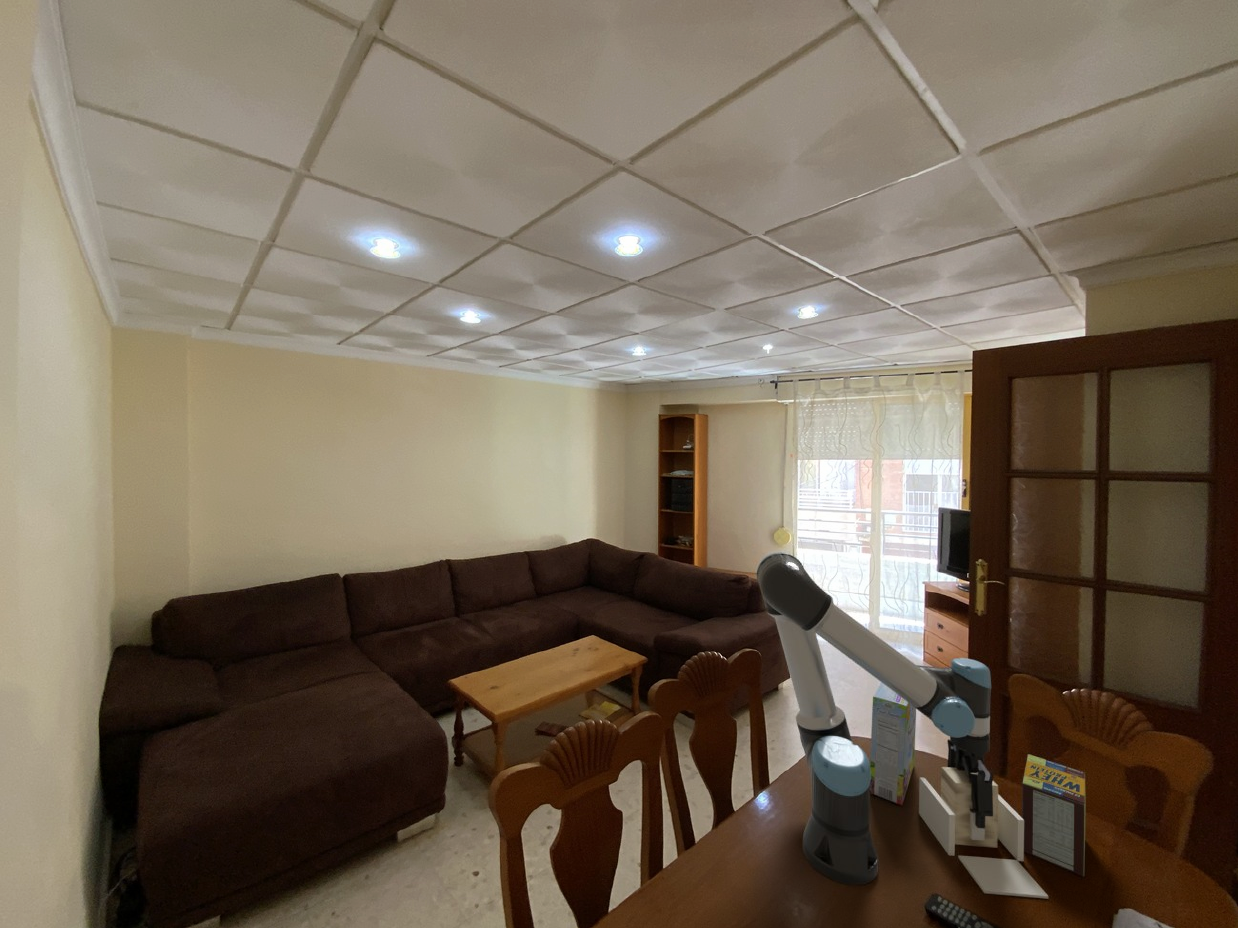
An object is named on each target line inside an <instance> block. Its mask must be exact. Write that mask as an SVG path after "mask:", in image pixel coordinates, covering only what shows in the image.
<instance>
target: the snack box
mask: <svg viewBox="0 0 1238 928" xmlns="http://www.w3.org/2000/svg"><path fill="white" fill-rule="evenodd" d="M871 712H872V713H871V714H872V715H871V735H870V736H871V737H870V738H871V739H870V759H869V763H870V770H871V781H870V795H871V794H872V795H874V796H878V797H880V798H882V799H884V800H887V801H889V802H892V803H894V804H897V805H899V806H903V804H904V800H905V797H906V795H907V790H908V787H909V784H910V781H911V776H912V773H913V770H914V768H915V767H914V766H915V754H916V753H915V750H916V724H917V722H916V720H917V709H916V708H915V707H914V706H912V705H911V704H910V703H908V702H907V701H906V700H904V699H903V698H902V697H900V696H899V695H898V694H896V693H895V692H894V691H892V690H891V689H890V688H888V687H887V686H886V685H884V684H883V683H882V682H880V684H879V685H878V688H877V689H876V691H875V693H874V694H873V697H872V711H871Z"/></svg>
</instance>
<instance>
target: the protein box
mask: <svg viewBox="0 0 1238 928" xmlns="http://www.w3.org/2000/svg"><path fill="white" fill-rule="evenodd" d="M1026 757H1027V758H1026V761H1025V762H1026V763H1025V767H1024V773H1023V779H1022V806H1021V807H1022V813H1021V814H1022V816H1021V817H1022V818H1023V820H1024V853H1026V854H1029V855H1031V856H1034V857H1036V858H1038V859H1040V860H1043V861H1045V862H1048V863H1050V864H1053V865H1055V866H1058V867H1060V868H1061V869H1064V870H1066V871H1070V872H1072V873H1073V874H1076V875H1078V876H1080V877H1085V856H1086V855H1085V853H1086V852H1085V849H1086V805H1087V804H1086V803H1087V802H1086V799H1087V797H1086V772H1085V771H1082V770H1080V769H1077V768H1076V769H1075V768H1074V767H1073V768H1072V767H1070V766H1067V765H1063V764H1060V763H1057V762H1054V761H1050V760H1047V759H1045V758H1042V757H1038V756H1035V755H1032V754H1027V756H1026Z"/></svg>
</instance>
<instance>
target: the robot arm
mask: <svg viewBox="0 0 1238 928" xmlns="http://www.w3.org/2000/svg"><path fill="white" fill-rule="evenodd" d="M756 581H757V583H758V585H759V589H760V592H761V597H762V599H763V602H764V603H763V604H764V608H765V610H766V614H767V615H769V616H771V617H772V618H774V620H775V624H776V628H777V631H778V635H779V637H780V638H779V639H780V641H781V642H780V643H781V645H782V650H783V653H784V657H785V661H786V664H787V668H788V672H789V675H790V679H791V682H792V686H793V690H794V695H795V698H796V701H797V705H798V708H799V710H798V711H797V713H796V715H795V722H796V725H797V729H798V732H799V737H800V742H801V745H802V748H803V752H804V755H805V759H806V763H807V767H808V771H809V775H810V779H811V780H810V781H811V813H810V815H809V818H808V820H807V823H806V825H805V828H804V831H803V835H802V851H803V854H804V856H805V858H806V860H807V861H808V863H809V864H810V865H811V866H812V867H813V869H815V870H816V871H818V872H819V873H821V874H822V875H823V876H825V877H827V878H828V879H831V880H833V881H835V882H837V883H842V884H844V885H849V886H861V885H866V884H869V883H871V882H872V881H873V880H875V879H876V877H877V876H878V872H879V855H878V852H877V849H876V845H875V842H874V839H873V835H872V833H871V830H870V817H871V816H870V813H871V812H870V811H871V793H870V781H871V770H870V759H869V757H868V755H867V754H866V752H865V751H864V749H862V747H860V746H859V745H857V744H855V743H854V742H853V740H852V736H851V732H850V730H849V729H850V728H849V725H848V721H847V719H846V718H847V717H846V714H845V712H844V710H843V709H841V708H840V707H838V706H837V705H836V703H835V699H834V695H833V691H832V688H831V684H830V680H829V677H828V674H827V670H826V666H825V662H824V660H823V656H822V651H821V648H820V644H819V641H818V637H817V636H819V637H821V638H822V639H823V640H824V641H826V642H827V643H828V644H830V645H831V646H832V647H834V648H835V649H836V650H838V651H839V652H840V653H841V654H843V655H845V657H847V658H849V660H851V661H852V662H854V663H855V664H856V665H858V666H859V667H861V668H862V669H863V670H864V671H865V672H867V673H868V674H869V675H871V676H872V677H874V678H875V679H876V680H878V681H879V682H880V683H881V682H882V683H883V684H884V685H886V686H887V687H888V688H890V689H891V690H892V691H894V692H895V693H896V694H898V695H899V696H900V697H902V698H903V699H904V700H906V701H907V702H908V703H910V704H911V705H912V706H914V707H915V708H916V711H918V712H920V713H921V714H923V715H924V716H925V717H927V718H928V719H929V720H931V722H932V723H933V725H934V726H935V728H936V729H938V730H939V731H940V732H941V733H943V734H944V735H945V736H947V737H949V739H947V748H948V750H947V752H948V753H947V767H951V768H957V769H958V770H963V771H965V773H966V776H967V777H968V778H969V782H970V783H971V798H972V805H973V809H970V838H971V839H972V840H983V841H985V816H991V817H993V792H992V782H993V781H994V777H995V775H994V771H992V770H988V769H987V768H986V764H985V759H984V758H985V757H984V756H985V754H987V753H988V752H990V749H991V748H990V746H991V741H990V739H991V736H990V729H991V727H990V726H991V725H990V723H991V721H990V720H991V716H990V715H991V693H992V692H991V690H992V682H991V680H992V679H991V677H992V676H991V671H990V668H989V667H988V666H987V665H986V664H984V663H982V662H980V661H979V660H975V659H971V658H967V657H966V658H965V657H959V658H953V659H952V660H951V661H950V662H951V663H950V667H937V666H936V667H935V666H929V665H917V664H915V663H914V662H913V661H911V660H910V659H908V657H906V656H905V655H903V654H902V653H901V652H899V651H898V650H896V649H895V648H894V647H892V646H891V645H889V644H888V643H887V642H886V641H884V640H883V639H881V638H880V637H879V636H878V635H876V634H875V633H873V632H872V631H871V630H869V629H868V628H867V627H866V626H864V625H863V624H862V623H860V622H858V621H857V620H856V619H855V618H854V617H852V616H850V615H849V614H848V613H847V612H845V611H844V610H842V609H841V608H839V606H837V605H836V604H835V603H834V599H833V597H832V596H831V594H828V593H827V592H826V591H825V590H824V589H823V588H821V587H820V586H819V585H818V584H817V583H816V582H815V581H814V579H812V577H811V576H810V575H809V573H808V572H807V571H806V569H805V567H804V565H803V564H802V562H801V561H800V560H799V558H797V557H795V556H794V555H791V553H785V552H773V553H770V554H768V555H767V556H765V557H764V558H762V560H760V562H759V564H758V567H757V569H756ZM971 773H977V774H971Z"/></svg>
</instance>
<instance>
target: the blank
mask: <svg viewBox="0 0 1238 928" xmlns="http://www.w3.org/2000/svg"><path fill="white" fill-rule="evenodd" d="M940 769H941V773H940V775H941V777H940V797H941V798H942V800H943V801H944V802H945V803H946V805H947V806H948V807H949V808H950V809H951V811H952V812H953V813H954V814H955V845H960V846H970V847H971V846H972V847H981V848H982V847H984V848H985V847H986V848H998V838H997V834H998V794H999V785H998V784H997V783H996V782H995V781H994V780H993V782H992V792H993V817H991V816H985V841H983V840H972V839H971V838H970V809H973V805H972V798H971V783H970V782H969V778H968V777H967V776H966V773H965V771H963V770H958V769H957V768H951V767H948V766H941V768H940ZM971 774H977V773H971Z"/></svg>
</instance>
